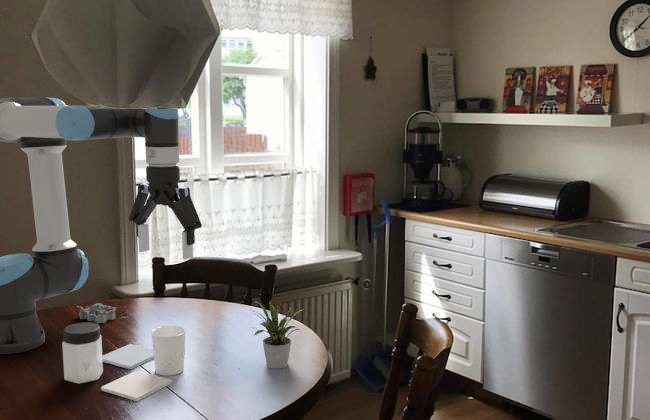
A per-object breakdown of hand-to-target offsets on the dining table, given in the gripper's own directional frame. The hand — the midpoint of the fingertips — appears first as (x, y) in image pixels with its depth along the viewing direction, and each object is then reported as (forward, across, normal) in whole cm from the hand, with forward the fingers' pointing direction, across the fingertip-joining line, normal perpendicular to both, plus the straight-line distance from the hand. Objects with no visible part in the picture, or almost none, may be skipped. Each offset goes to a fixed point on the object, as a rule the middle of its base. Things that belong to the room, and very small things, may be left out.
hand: (165, 254), depth 164 cm
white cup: (+29, 0, 0) cm, 29 cm away
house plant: (+29, +19, +16) cm, 38 cm away
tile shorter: (+29, 0, -11) cm, 31 cm away
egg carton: (+29, -45, +19) cm, 57 cm away
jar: (+29, -15, -13) cm, 35 cm away
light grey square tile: (+29, -14, +1) cm, 32 cm away
